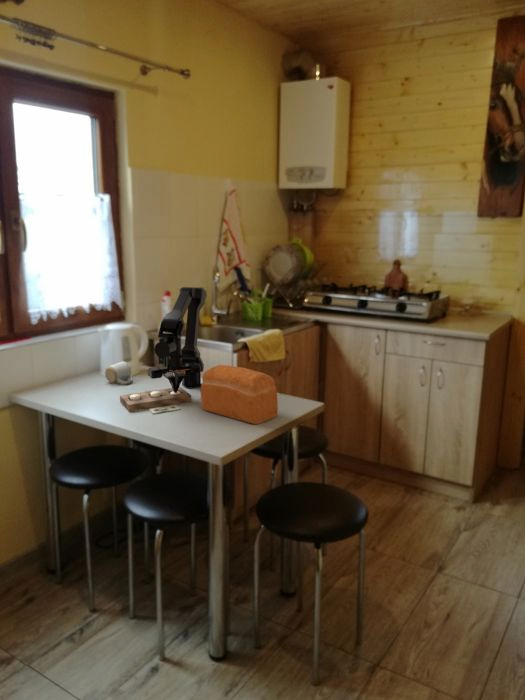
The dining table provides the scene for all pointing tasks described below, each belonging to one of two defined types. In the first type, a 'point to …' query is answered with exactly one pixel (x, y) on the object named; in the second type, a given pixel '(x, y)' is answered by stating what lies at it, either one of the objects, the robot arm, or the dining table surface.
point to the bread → (239, 394)
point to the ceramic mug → (119, 373)
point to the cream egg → (134, 397)
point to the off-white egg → (155, 394)
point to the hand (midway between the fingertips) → (175, 392)
